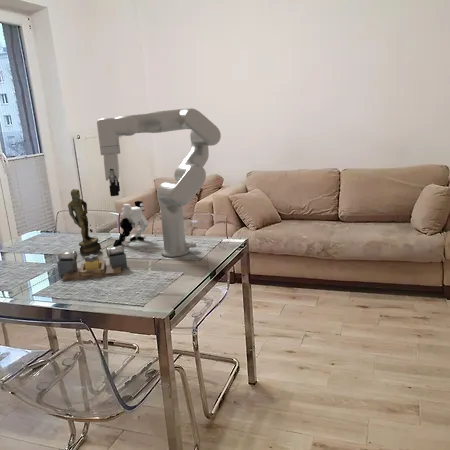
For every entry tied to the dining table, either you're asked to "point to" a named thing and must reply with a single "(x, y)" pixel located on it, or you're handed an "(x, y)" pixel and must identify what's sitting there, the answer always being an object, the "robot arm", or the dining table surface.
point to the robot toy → (132, 223)
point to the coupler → (92, 262)
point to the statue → (82, 223)
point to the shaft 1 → (67, 263)
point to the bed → (92, 272)
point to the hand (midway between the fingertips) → (115, 193)
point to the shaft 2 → (117, 257)
